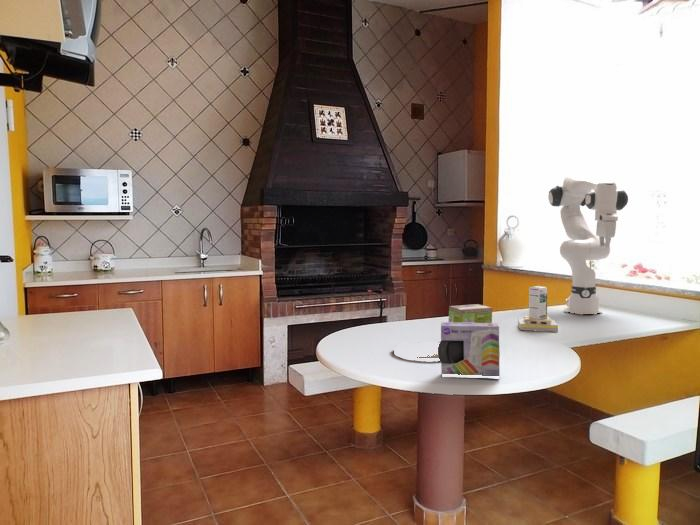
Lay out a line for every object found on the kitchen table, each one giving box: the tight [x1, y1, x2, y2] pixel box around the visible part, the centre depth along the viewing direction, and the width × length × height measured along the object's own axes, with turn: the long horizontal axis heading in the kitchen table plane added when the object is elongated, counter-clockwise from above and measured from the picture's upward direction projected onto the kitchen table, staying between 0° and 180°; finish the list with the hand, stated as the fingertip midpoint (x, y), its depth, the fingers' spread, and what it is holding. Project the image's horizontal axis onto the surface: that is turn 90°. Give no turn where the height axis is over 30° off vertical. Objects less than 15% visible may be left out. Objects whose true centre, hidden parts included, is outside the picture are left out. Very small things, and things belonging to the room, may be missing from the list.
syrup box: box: [528, 285, 548, 320], centre depth 243 cm, size 6×6×14 cm
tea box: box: [448, 303, 493, 323], centre depth 219 cm, size 15×10×15 cm
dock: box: [517, 318, 559, 333], centre depth 243 cm, size 12×16×3 cm
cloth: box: [523, 315, 553, 324], centre depth 243 cm, size 9×11×2 cm
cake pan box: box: [438, 321, 501, 377], centre depth 170 cm, size 19×5×18 cm, turn 78°
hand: (604, 246), depth 245 cm, fingers open, 8 cm apart
